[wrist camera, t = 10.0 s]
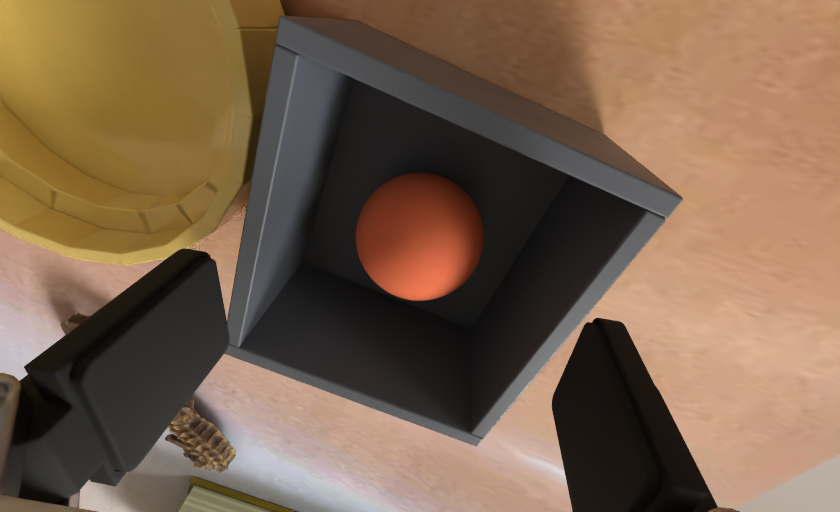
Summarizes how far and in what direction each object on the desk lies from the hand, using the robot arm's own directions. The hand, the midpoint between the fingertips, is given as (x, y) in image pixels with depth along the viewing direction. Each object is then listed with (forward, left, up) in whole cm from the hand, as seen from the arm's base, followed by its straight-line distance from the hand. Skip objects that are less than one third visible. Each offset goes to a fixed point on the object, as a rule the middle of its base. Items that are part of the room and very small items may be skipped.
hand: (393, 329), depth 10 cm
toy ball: (0, 0, -8) cm, 8 cm away
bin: (0, 0, -8) cm, 8 cm away
